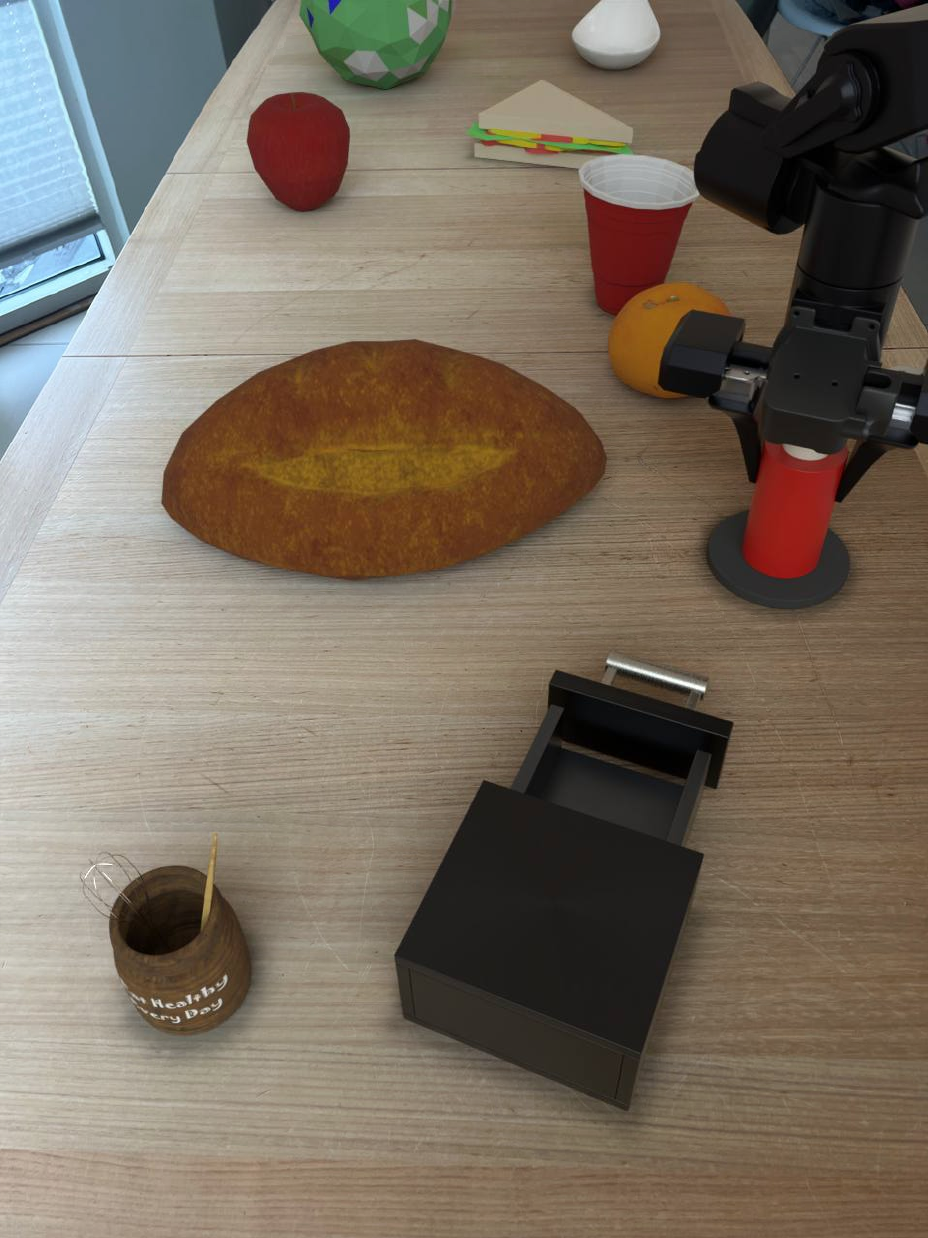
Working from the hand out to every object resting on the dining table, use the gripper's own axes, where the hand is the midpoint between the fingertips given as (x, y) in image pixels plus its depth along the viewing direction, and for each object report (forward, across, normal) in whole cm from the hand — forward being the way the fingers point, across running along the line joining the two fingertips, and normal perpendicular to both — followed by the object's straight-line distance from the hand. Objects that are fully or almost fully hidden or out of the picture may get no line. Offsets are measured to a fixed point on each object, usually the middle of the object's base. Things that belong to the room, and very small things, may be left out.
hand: (795, 488), depth 70 cm
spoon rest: (+6, -42, +98) cm, 107 cm away
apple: (+6, -59, +39) cm, 71 cm away
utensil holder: (+7, -20, -42) cm, 47 cm away
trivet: (+6, 0, 0) cm, 6 cm away
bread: (+6, -28, -4) cm, 29 cm away
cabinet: (+6, -4, -34) cm, 35 cm away
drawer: (+6, -4, -23) cm, 24 cm away
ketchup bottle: (+6, 0, 0) cm, 6 cm away
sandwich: (+6, -38, +60) cm, 71 cm away
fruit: (+6, -13, +19) cm, 24 cm away
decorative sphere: (+6, -68, +76) cm, 102 cm away
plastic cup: (+6, -20, +31) cm, 38 cm away
